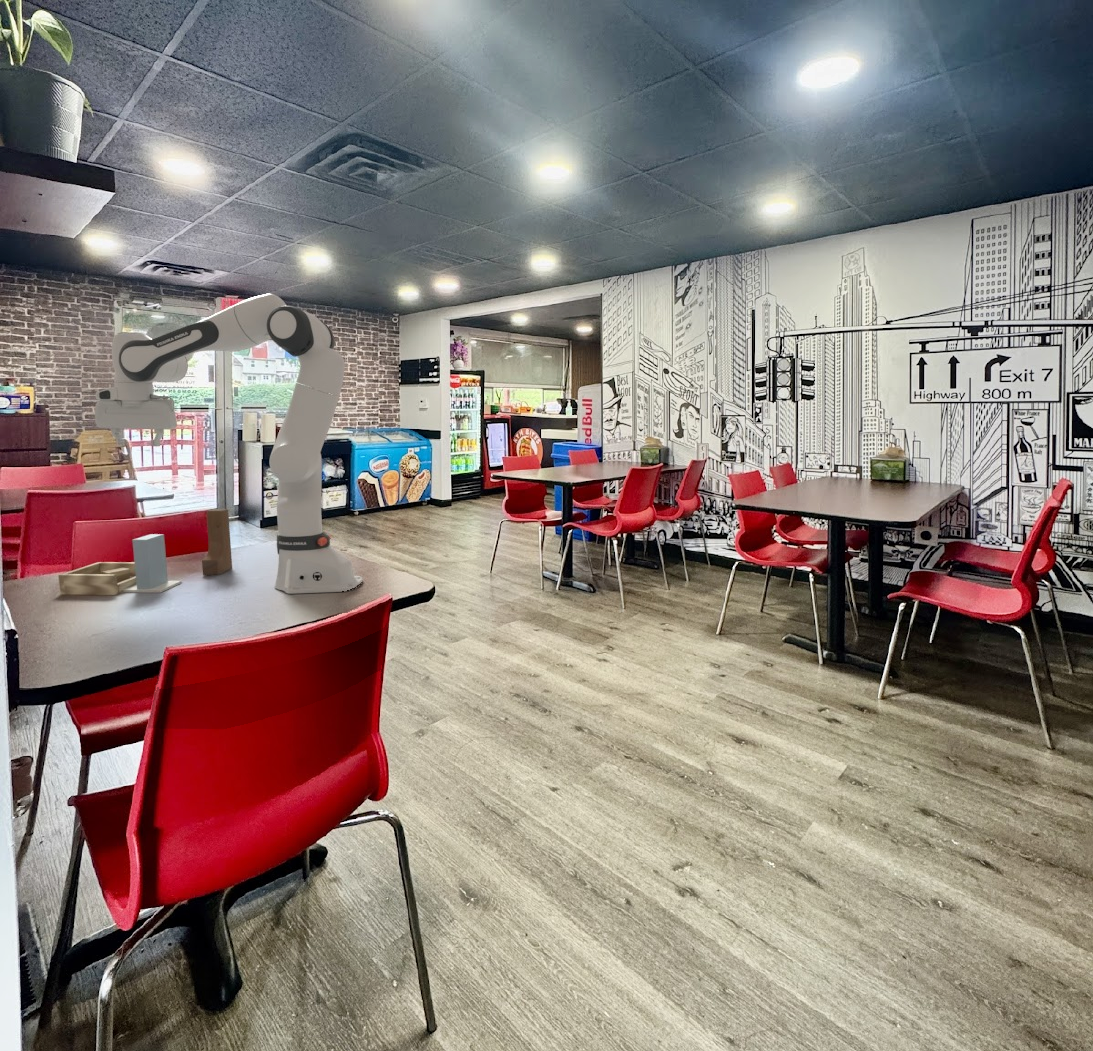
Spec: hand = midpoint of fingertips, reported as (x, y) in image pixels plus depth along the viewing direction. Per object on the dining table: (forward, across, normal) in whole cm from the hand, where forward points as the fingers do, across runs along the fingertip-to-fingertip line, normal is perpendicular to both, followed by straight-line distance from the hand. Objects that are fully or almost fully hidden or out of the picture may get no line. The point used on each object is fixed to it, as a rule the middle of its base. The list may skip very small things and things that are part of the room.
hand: (138, 446), depth 182 cm
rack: (+37, +4, +11) cm, 38 cm away
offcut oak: (+35, +2, +11) cm, 36 cm away
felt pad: (+37, -7, +11) cm, 39 cm away
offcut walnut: (+37, +2, +11) cm, 39 cm away
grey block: (+36, -8, +11) cm, 38 cm away
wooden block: (+37, -16, -7) cm, 41 cm away
